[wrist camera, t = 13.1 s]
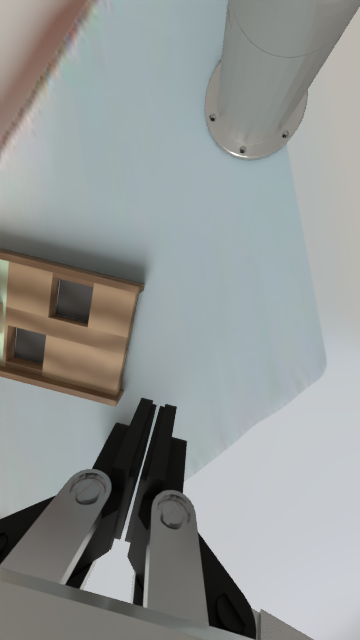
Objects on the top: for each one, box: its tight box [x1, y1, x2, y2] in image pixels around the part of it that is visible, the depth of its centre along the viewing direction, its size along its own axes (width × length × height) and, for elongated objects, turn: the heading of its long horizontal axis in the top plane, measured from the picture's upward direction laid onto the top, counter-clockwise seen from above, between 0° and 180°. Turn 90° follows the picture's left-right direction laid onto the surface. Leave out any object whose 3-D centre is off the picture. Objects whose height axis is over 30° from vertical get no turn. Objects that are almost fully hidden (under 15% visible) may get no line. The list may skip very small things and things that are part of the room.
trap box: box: [0, 249, 144, 407], centre depth 40 cm, size 20×28×5 cm
